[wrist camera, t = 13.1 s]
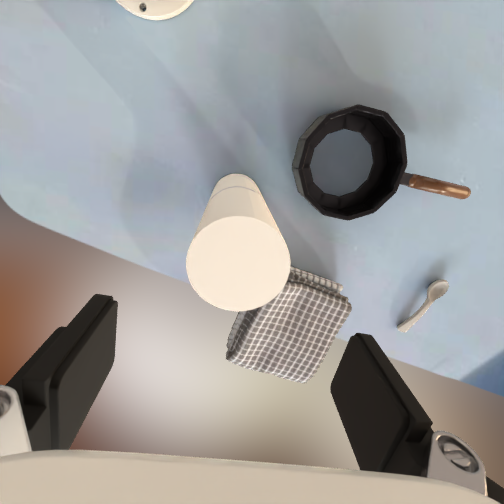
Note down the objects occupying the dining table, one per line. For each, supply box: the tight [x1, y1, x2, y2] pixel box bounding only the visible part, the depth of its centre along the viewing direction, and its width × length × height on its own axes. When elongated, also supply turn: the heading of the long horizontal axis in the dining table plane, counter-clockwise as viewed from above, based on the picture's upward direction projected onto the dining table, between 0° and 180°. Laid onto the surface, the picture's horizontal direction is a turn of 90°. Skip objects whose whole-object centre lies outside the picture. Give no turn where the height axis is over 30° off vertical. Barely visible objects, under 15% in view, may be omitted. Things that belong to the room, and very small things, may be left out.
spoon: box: [397, 279, 449, 332], centre depth 51 cm, size 3×12×2 cm, turn 152°
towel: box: [226, 266, 352, 383], centre depth 47 cm, size 15×18×8 cm
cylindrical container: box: [186, 174, 291, 311], centre depth 31 cm, size 7×7×25 cm
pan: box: [292, 105, 471, 220], centre depth 41 cm, size 14×25×4 cm, turn 77°
